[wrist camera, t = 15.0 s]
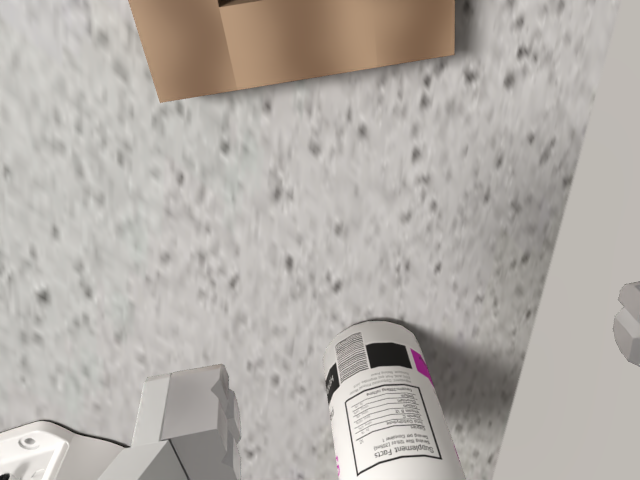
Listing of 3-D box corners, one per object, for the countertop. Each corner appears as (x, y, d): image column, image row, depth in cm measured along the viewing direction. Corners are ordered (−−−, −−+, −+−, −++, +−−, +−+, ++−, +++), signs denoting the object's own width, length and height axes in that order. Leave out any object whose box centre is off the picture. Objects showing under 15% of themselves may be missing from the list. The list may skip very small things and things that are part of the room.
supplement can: (437, 336, 46) (503, 506, 34) (379, 395, 50) (420, 569, 37) (359, 300, 43) (401, 473, 31) (303, 366, 47) (321, 545, 34)
